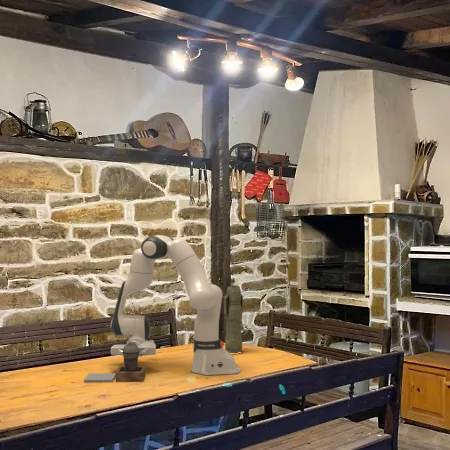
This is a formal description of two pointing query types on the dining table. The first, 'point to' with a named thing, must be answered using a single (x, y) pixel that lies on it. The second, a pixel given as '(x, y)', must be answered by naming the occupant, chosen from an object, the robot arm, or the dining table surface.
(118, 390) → the dining table surface
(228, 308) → the thermos
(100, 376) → the slate mat
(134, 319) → the robot arm
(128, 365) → the beverage cup
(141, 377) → the walnut collar
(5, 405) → the dining table surface
